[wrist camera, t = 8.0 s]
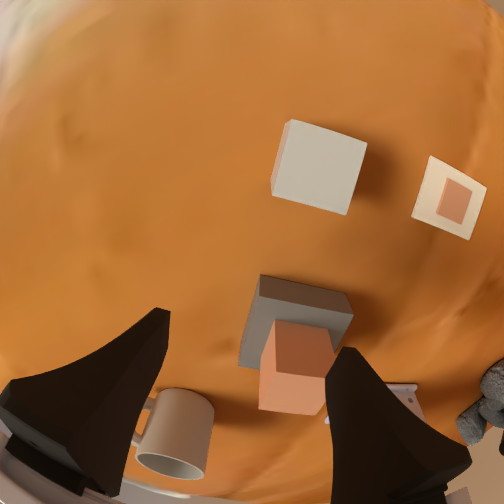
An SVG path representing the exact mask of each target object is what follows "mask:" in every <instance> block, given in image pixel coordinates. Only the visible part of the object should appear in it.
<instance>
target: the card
mask: <svg viewBox="0 0 504 504" xmlns="http://www.w3.org/2000/svg"><path fill="white" fill-rule="evenodd" d="M486 189H487V188H486V187H484V186H483V185H481V184H480V183H478V182H477V181H475V180H473V179H472V178H470V177H468V176H467V175H465V174H463V173H462V172H460V171H458V170H457V169H455V168H453V167H451V166H450V165H448V164H446V163H444V162H442V161H440V160H438V159H437V158H435V157H433V156H430V157H429V160H428V164H427V168H426V171H425V175H424V178H423V181H422V184H421V188H420V191H419V194H418V197H417V200H416V203H415V206H414V209H413V212H412V214H411V217H412V218H415V219H418V220H420V221H423V222H425V223H428V224H430V225H433V226H435V227H438V228H440V229H443V230H445V231H448V232H450V233H452V234H455V235H457V236H459V237H462V238H464V239H466V240H469V239H470V237H471V234H472V231H473V229H474V226H475V223H476V221H477V218H478V215H479V212H480V209H481V206H482V203H483V199H484V196H485V193H486Z"/></svg>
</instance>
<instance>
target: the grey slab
mask: <svg viewBox="0 0 504 504" xmlns="http://www.w3.org/2000/svg"><path fill="white" fill-rule="evenodd" d="M353 316H354V313H353V311H352V309H351V306H350V304H349V302H348V299H347V297H346V295H345V293H342V292H337V291H332V290H328V289H323V288H318V287H314V286H309V285H305V284H300V283H296V282H291V281H286V280H282V279H278V278H273V277H269V276H264V275H260V277H259V281H258V284H257V288H256V291H255V295H254V298H253V302H252V305H251V309H250V312H249V316H248V319H247V323H246V326H245V330H244V333H243V336H242V340H241V345H240V354H239V362H238V366H241V367H247V368H252V369H257V370H260V362H261V356H262V353H263V350H264V348H265V345H266V342H267V339H268V336H269V334H270V331H271V328H272V325H273V322H274V320H275V319H277V320H282V321H287V322H292V323H297V324H303V325H308V326H314V327H320V328H326V329H328V332H329V336H330V340H331V344H332V348H333V352H335V350H336V349H337V347H338V345H339V343H340V341H341V339H342V337H343V336H344V334H345V332H346V330H347V328H348V326H349V324H350V322H351V320H352V318H353Z"/></svg>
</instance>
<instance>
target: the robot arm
mask: <svg viewBox="0 0 504 504" xmlns="http://www.w3.org/2000/svg"><path fill="white" fill-rule="evenodd" d="M170 312H171V311H168V310H164V309H161V308H157V307H156V308H154V309H153V310H151V311H150V312H149V313H148V314H147V315H146V316H144V317H143V318H142V319H141V320H139V321H138V322H137V323H136V324H134V325H133V326H132V327H130V328H129V329H128V330H126V331H125V332H124V333H122V334H121V335H120V336H118V337H117V338H115V339H114V340H112V341H111V342H109V343H108V344H106V345H105V346H103V347H101V348H100V349H98V350H96V351H95V352H93V353H91V354H89V355H87V356H85V357H83V358H81V359H79V360H77V361H75V362H73V363H70V364H68V365H66V366H63V367H60V368H58V369H55V370H52V371H48V372H45V373H42V374H38V375H34V376H29V377H24V378H19V379H13V380H11V381H10V382H9V383H8V385H7V386H6V387H5V389H4V390H3V391H2V393H1V394H0V419H1V420H2V421H3V422H4V424H5V425H6V426H7V427H8V429H9V430H10V431H11V432H12V433H13V434H12V436H11V437H10V439H9V438H8V437H7V436H6V435H5V434H4V433H3V432H1V431H0V501H1V502H2V503H3V504H125V503H122V502H119V501H117V500H114V499H111V497H115V496H118V495H119V492H120V487H121V482H122V477H123V472H124V468H125V464H126V460H127V456H128V452H129V448H130V445H131V441H132V438H133V434H134V431H135V428H136V425H137V421H138V418H139V415H140V413H141V410H142V408H143V406H144V404H145V401H146V399H147V397H148V395H149V393H150V391H151V389H152V386H153V384H154V382H155V380H156V378H157V376H158V374H159V372H160V369H161V367H162V364H163V361H164V358H165V355H166V352H167V349H168V339H169V325H170ZM416 389H417V385H416V384H385V383H384V382H383V381H382V379H381V378H380V377H379V376H378V375H377V373H376V372H375V371H374V370H373V368H372V367H371V366H370V365H369V363H368V362H367V361H366V360H365V358H364V357H363V356H362V355H361V354H360V352H359V351H358V350H357V349H356V348H352V347H344V346H343V347H342V349H341V351H340V353H339V354H338V356H337V358H336V360H335V361H334V363H333V365H332V366H331V368H330V370H329V372H328V373H327V375H326V376H325V399H326V405H327V411H328V416H327V417H326V419H325V423H326V424H330V430H331V436H332V443H333V485H332V495H331V504H472V502H471V499H470V495H469V492H468V489H467V487H464V488H462V489H460V490H458V491H455V492H453V493H451V494H449V495H447V496H445V494H444V491H446V490H447V489H448V486H447V483H448V482H449V481H451V480H452V479H454V478H455V477H457V476H458V475H459V474H461V473H462V472H464V471H465V470H466V469H467V468H468V467H470V465H471V464H472V459H471V456H470V453H469V451H468V448H467V447H466V446H464V445H462V444H459V443H457V442H455V441H453V440H451V439H449V438H448V437H446V436H444V435H443V434H441V433H439V432H438V431H436V430H435V429H433V428H432V427H430V426H429V425H428V424H427V422H426V419H425V417H424V414H423V412H422V410H421V407H420V405H419V402H418V400H417V398H416V395H415V393H414V392H415V390H416ZM99 493H100V494H99ZM102 494H103V495H102ZM104 495H105V496H104ZM107 496H108V497H107ZM109 497H110V498H109Z"/></svg>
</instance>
